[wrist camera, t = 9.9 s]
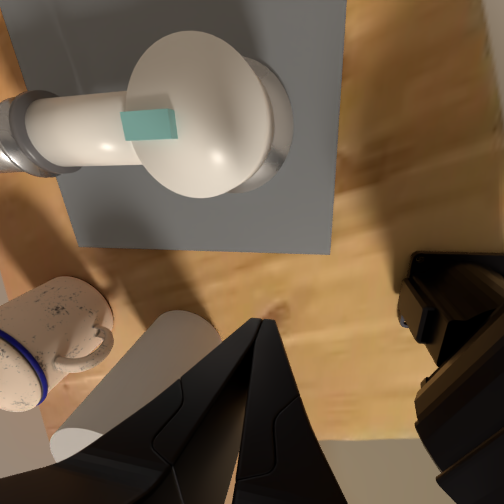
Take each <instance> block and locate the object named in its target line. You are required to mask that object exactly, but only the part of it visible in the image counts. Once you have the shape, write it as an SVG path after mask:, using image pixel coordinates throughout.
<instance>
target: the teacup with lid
mask: <svg viewBox="0 0 504 504" xmlns="http://www.w3.org/2000/svg"><path fill="white" fill-rule="evenodd" d="M112 328H113V315H112V311H111V309H110V307H109V305H108V303H107V301H106V300H105V298H104V297H103V296H102V295H101V294H100V293H99V292H98V291H97V290H96V289H95V288H94V287H93V286H91V285H90V284H88V283H86V282H85V281H83V280H80V279H78V278H74V277H69V276H61V277H56V278H54V279H52V280H50V281H48V282H46V283H44V284H42V285H40V286H38V287H36V288H34V289H32V290H30V291H28V292H26V293H24V294H23V295H21V296H19V297H17V298H15V299H13V300H11V301H9V302H7V303H5V304H3V305H1V306H0V409H3V410H7V411H12V412H20V411H26V410H29V409H32V408H33V407H35V406H37V405H39V404H40V403H42V402H43V401H44V400H45V398H46V396H47V393H48V392H49V391H50V390H51V389H52V388H54V387H55V386H56V385H57V384H58V383H59V382H60V381H61V380H62V379H63V378H64V377H65V376H66V375H67V374H68V373H76V372H82V371H85V370H88V369H91V368H93V367H95V366H96V365H98V364H99V363H101V362H102V361H103V360H104V359H105V358H106V357H107V356H108V354H109V353H110V351H111V349H112V347H113V343H114V339H113V334H112V332H111V331H112ZM101 342H102V344H101V345H100V346H99V348H98V349H97V350H95V351H94V352H93V353H91V352H92V351H93V350H94V349H95V348H96V347H97V346H98V345H99V344H100V343H101ZM90 353H91V354H90Z"/></svg>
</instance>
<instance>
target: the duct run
mask: <svg viewBox="0 0 504 504" xmlns="http://www.w3.org/2000/svg"><path fill="white" fill-rule="evenodd" d="M14 99H15V97H12V98H8V99H5V100H3V101H2V102H0V173H11V172H26V173H28V174H30V175H33V176H37V177H44V178H47V177H56V176H59V175H61V174H57V173H51V172H48V171H45V170H43V169H41V168H40V167H38V166H37V165H35V164H34V163H33V162H31V161H30V160H29V159H28V158H27V157H26V156H25V155H24V154H23V152H22V151H21V150H20V148H19V147H18V145H17V144H16V142H15V140H14V138H13V135H12V133H11V129H10V125H9V109H10V106H11V103H12V101H13V100H14Z"/></svg>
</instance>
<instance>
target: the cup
mask: <svg viewBox="0 0 504 504" xmlns="http://www.w3.org/2000/svg"><path fill="white" fill-rule="evenodd" d="M220 343H222V340H221V338H220V336H219V334H218V332H217V331H216V329H215V328H214V327H213V326H212V325H211V324H210V323H209V322H208V321H206V320H205V319H204V318H202V317H200V316H198V315H196V314H194V313H191V312H188V311H182V310H173V311H168V312H165V313H163V314H162V315H160V316H159V317H158V318H157V319H156V320H155V321H154V322H153V324H152V325H151V326H150V327H149V328H148V329H147V330H146V331H145V332H144V334H143V335H142V336H141V337H140V338H139V339H138V340H137V341H136V343H135V344H134V345H133V346H132V347H131V348H130V349H129V350H128V352H127V353H126V354H125V355H124V356H123V357H122V358H121V359H120V360H119V362H118V363H117V364H116V365H115V366H114V367H113V368H112V369H111V371H110V372H109V373H108V374H107V375H106V376H105V377H104V378H103V380H102V381H101V382H100V383H99V384H98V385H97V386H96V387H95V388H94V390H93V391H92V392H91V393H90V394H89V395H88V396H87V397H86V399H85V400H84V401H83V402H82V403H81V404H80V405H79V406H78V407H77V409H76V410H75V411H74V412H73V413H72V414H71V415H70V416H69V418H68V419H67V420H66V421H65V422H64V423H63V424H62V425H61V427H60V428H59V429H58V430H57V431H56V432H55V433H54V434H53V436H52V437H51V440H50V449H51V453H52V455H53V457H54V459H55V461H56V462H57V463H58V462H60V461H62V460H64V459H66V458H68V457H70V456H72V455H74V454H76V453H77V452H79V451H81V450H82V449H84V448H85V447H87V446H88V445H90V444H91V443H92V442H94V441H95V440H97V439H98V438H99V437H101V436H102V435H104V434H105V433H107V432H108V431H109V430H111V429H112V428H114V427H115V426H117V425H118V424H119V423H121V422H122V421H124V420H125V419H127V418H128V417H129V416H131V415H132V414H134V413H135V412H136V411H138V410H139V409H140V408H142V407H143V406H145V405H146V404H147V403H149V402H150V401H151V400H153V399H154V398H155V397H157V396H158V395H159V394H160V393H162V392H163V391H164V390H165V389H167V388H168V387H169V386H170V385H171V384H173V383H174V382H175V381H176V380H177V379H180V377H181V376H182V375H183V374H185V373H186V372H187V371H188V370H189V369H191V368H192V367H193V366H194V365H195V364H197V363H198V362H199V361H200V360H201V359H203V358H204V357H205V356H206V355H207V354H209V353H210V352H211V351H212V350H213V349H214V348H216V347H217V346H218V345H219V344H220ZM180 380H181V379H180Z"/></svg>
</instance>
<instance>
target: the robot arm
mask: <svg viewBox="0 0 504 504" xmlns="http://www.w3.org/2000/svg"><path fill="white" fill-rule="evenodd" d="M418 257H422V259H421V260H419V261H417V260H416V259H417V258H418ZM398 309H399V310H400V315H399V322H400V324H401V326H402V327H405V328H409V329H410V331H411V333H412V335H413V337H414V339H415V340H416V341H417V342H418V343H420V344H425V346H426V348H427V349H428V351H429V353H430V355H431V356H432V358H433V360H434V362H435V364H436V365H437V366H438V367H439V368H438V369H437V370H436V371H435V372H434V373H433V374H432V375H431V376H430V377H429V378H428V377H426V378H425V379H424V380H423V381H422V382H421V389H420V390H419V391H418V392H417V395H416V398H415V401H414V402H415V408H416V415H417V419H418V420H417V421H416V422H415V428H416V431H417V433H418V435H419V437H420V439H421V441H422V443H423V446H424V447H425V449H426V451H427V452H428V454H429V455H430V457H431V458H432V460H433V462H434V463H435V465H436V466H437V467H438V469H439V470H440V472H441V474H440V475H438V476H437V477H436V481H437V483H438V485H439V486H440V487H441V488H442V489H443V490H444V491H445V492H446V493H447V494H448V495H449V496H450V497H451V498H452V499H453V500H454V501H455V502H456V503H457V504H504V253H468V252H431V251H417V252H415V253H413V254H412V255H411V258H410V263H409V268H408V274H407V277H406V278H404V279H403V281H402V286H401V291H400V296H399V302H398ZM404 321H405V322H404ZM180 379H181V380H180ZM180 379H177V380H176V381H175V382H174V383H173V384H171V385H170V386H169V387H168V388H167V389H165V390H164V391H163V392H162V393H160V394H159V395H158V396H157V397H155V398H154V399H153V400H151V401H150V402H149V403H147V404H146V405H145V406H143V407H142V408H140V409H139V410H138V411H136V412H135V413H134V414H132V415H131V416H129V417H128V418H127V419H125V420H124V421H122V422H121V423H119V424H118V425H117V426H115V427H114V428H112V429H111V430H109V431H108V432H107V433H105V434H104V435H102V436H101V437H99V438H98V439H97V440H95V441H94V442H92V443H91V444H90V445H88V446H87V447H85V448H84V449H82V450H81V451H79V452H77V453H76V454H74V455H72V456H70V457H68V458H66V459H64V460H62V461H60V462H58V463H55V464H53V465H49V466H46V467H43V468H39V469H35V470H31V471H27V472H23V473H20V474H16V475H12V476H8V477H5V478H0V504H224V502H225V499H226V495H227V492H228V489H229V485H230V481H231V478H232V474H233V471H234V467H235V464H236V460H237V457H238V453H239V458H238V466H237V472H236V483H235V488H234V494H233V500H232V504H348V503H347V501H346V499H345V497H344V495H343V493H342V491H341V489H340V486H339V484H338V482H337V480H336V478H335V476H334V474H333V472H332V470H331V468H330V466H329V464H328V462H327V460H326V458H325V455H324V453H323V451H322V449H321V447H320V445H319V443H318V440H317V438H316V436H315V434H314V431H313V429H312V427H311V424H310V421H309V419H308V416H307V413H306V411H305V408H304V405H303V402H302V399H301V397H300V393H299V390H298V387H297V384H296V381H295V378H294V375H293V372H292V369H291V366H290V363H289V360H288V357H287V354H286V351H285V348H284V345H283V342H282V339H281V336H280V333H279V330H278V327H277V324H276V321H275V320H272V319H264V320H262V319H260V318H250V319H249V320H248V321H247V322H245V323H244V324H243V325H242V326H241V327H239V328H238V329H237V330H236V331H235V332H234V333H232V334H231V335H230V336H229V337H228V338H226V339H225V340H224V341H223V342H222V343H220V344H219V345H218V346H217V347H216V348H214V349H213V350H212V351H211V352H210V353H209V354H207V355H206V356H205V357H204V358H203V359H201V360H200V361H199V362H198V363H197V364H195V365H194V366H193V367H192V368H191V369H189V370H188V371H187V372H186V373H185V374H183V375H182V376H181V377H180ZM239 449H240V450H239Z"/></svg>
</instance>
